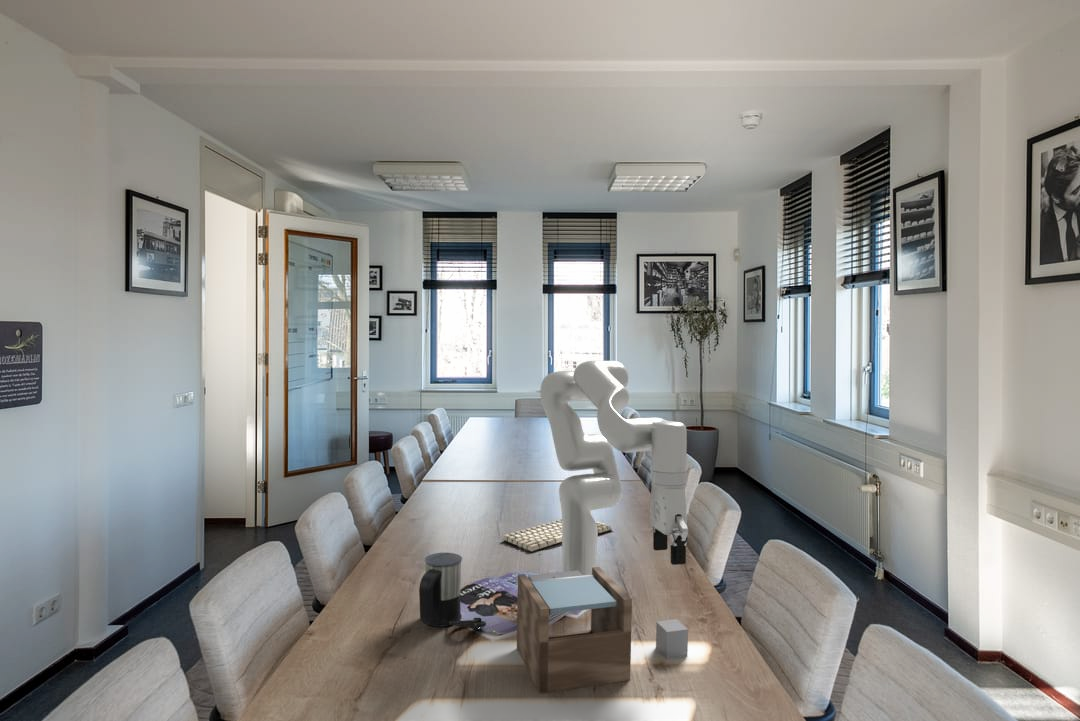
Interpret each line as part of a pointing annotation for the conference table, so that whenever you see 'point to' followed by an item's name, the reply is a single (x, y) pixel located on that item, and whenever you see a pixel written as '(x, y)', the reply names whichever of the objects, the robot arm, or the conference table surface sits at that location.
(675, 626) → the grey cube-like block
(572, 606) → the trapdoor
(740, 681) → the conference table surface
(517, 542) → the mechanical keyboard
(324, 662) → the conference table surface
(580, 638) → the stand
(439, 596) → the milk frother
